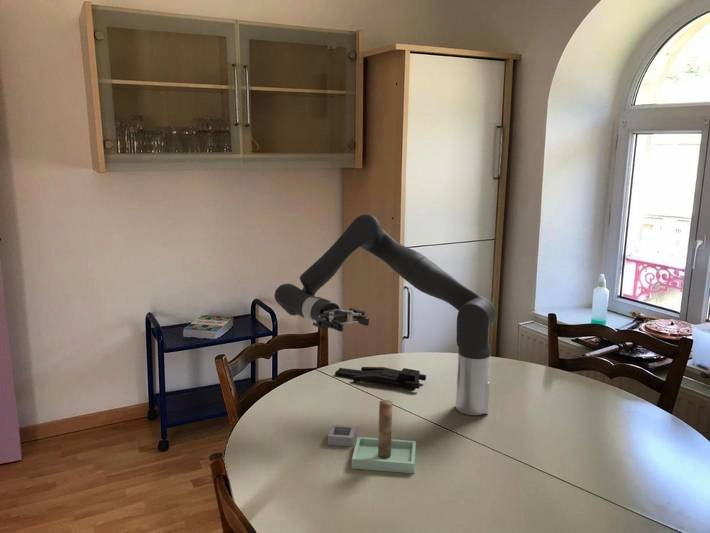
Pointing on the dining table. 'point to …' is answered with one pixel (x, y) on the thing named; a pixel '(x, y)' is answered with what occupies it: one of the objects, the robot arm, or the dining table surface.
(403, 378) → the toy
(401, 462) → the tray
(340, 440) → the holder
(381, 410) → the dowel
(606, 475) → the dining table surface
